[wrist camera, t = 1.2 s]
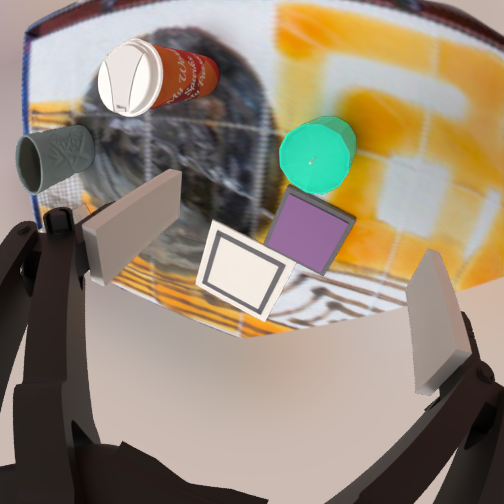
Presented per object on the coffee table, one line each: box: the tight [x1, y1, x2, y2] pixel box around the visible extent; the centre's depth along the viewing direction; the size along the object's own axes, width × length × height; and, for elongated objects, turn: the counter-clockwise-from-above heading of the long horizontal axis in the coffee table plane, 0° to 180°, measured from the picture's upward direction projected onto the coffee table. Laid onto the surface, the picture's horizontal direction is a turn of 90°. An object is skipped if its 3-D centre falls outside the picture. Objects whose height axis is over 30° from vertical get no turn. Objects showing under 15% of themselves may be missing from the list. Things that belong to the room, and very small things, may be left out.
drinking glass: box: [16, 125, 95, 195], centre depth 41 cm, size 10×10×12 cm
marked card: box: [196, 219, 297, 322], centre depth 46 cm, size 13×13×1 cm
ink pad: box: [263, 184, 356, 276], centre depth 38 cm, size 9×9×1 cm
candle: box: [279, 116, 356, 195], centre depth 27 cm, size 6×6×12 cm
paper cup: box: [98, 39, 220, 117], centre depth 27 cm, size 8×8×14 cm
